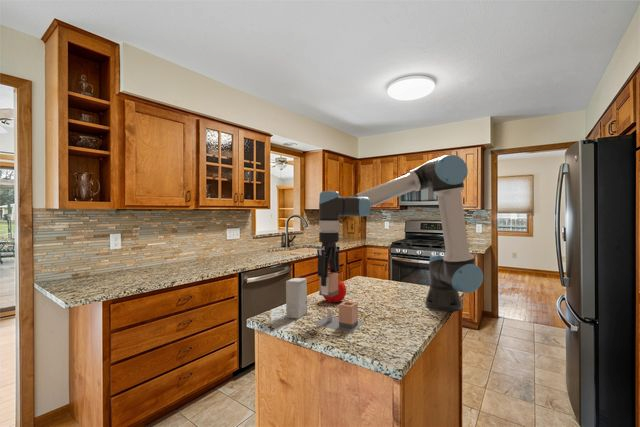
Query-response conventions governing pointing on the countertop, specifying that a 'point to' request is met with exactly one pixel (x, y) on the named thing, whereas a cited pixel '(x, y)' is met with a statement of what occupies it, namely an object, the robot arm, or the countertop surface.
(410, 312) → the countertop surface
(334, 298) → the tomato
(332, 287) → the sleeve free
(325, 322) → the pin board
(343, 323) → the sleeve seated
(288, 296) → the skincare box
